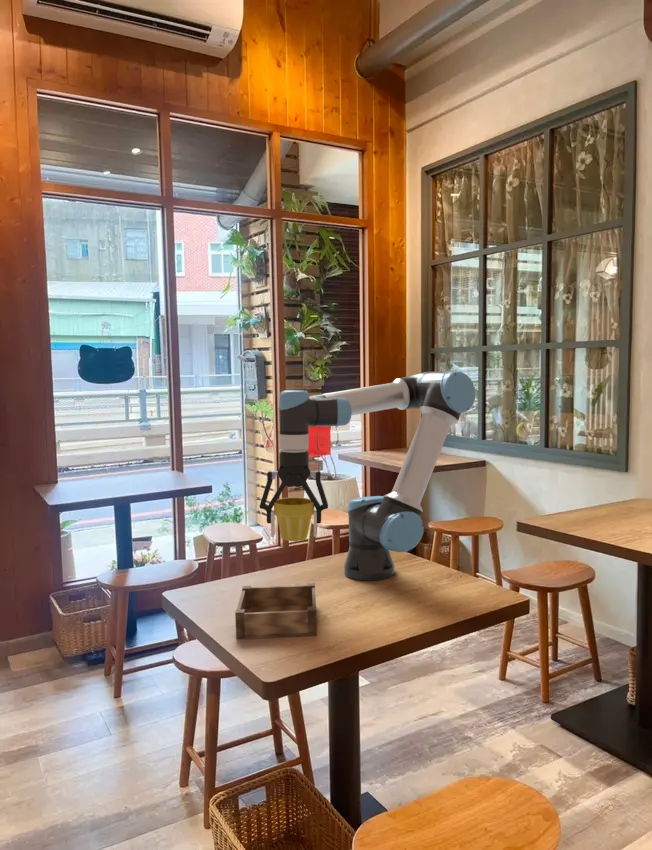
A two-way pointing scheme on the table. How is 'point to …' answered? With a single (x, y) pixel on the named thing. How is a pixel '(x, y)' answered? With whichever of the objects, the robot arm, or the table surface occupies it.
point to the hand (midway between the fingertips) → (294, 535)
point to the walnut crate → (276, 612)
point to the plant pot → (293, 517)
